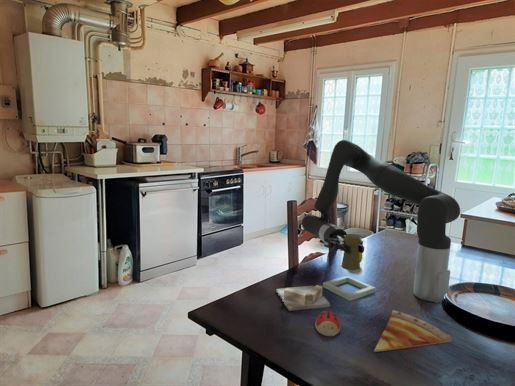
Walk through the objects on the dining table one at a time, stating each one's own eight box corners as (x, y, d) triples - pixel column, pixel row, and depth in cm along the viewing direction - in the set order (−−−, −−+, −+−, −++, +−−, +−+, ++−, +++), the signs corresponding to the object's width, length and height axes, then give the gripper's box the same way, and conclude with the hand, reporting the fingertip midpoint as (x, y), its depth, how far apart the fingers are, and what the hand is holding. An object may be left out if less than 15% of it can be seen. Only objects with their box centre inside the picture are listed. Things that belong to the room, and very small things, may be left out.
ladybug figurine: (315, 337, 93) (316, 324, 92) (314, 317, 103) (315, 306, 102) (342, 339, 92) (342, 326, 92) (338, 319, 102) (339, 308, 101)
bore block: (374, 292, 119) (375, 287, 119) (350, 300, 113) (350, 296, 113) (347, 279, 129) (347, 275, 129) (322, 286, 123) (323, 282, 122)
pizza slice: (343, 320, 102) (344, 314, 101) (412, 313, 107) (413, 306, 107) (373, 353, 87) (374, 346, 86) (451, 343, 92) (452, 336, 92)
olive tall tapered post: (362, 270, 116) (364, 237, 115) (343, 270, 116) (345, 237, 115) (357, 263, 122) (359, 232, 121) (339, 263, 122) (341, 232, 121)
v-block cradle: (276, 291, 118) (276, 280, 117) (313, 288, 121) (313, 277, 121) (289, 310, 106) (289, 298, 105) (329, 306, 109) (330, 294, 108)
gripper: (314, 226, 130) (336, 240, 113) (350, 224, 133) (376, 238, 117) (314, 246, 131) (335, 263, 114) (349, 244, 134) (375, 260, 118)
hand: (356, 250), depth 116 cm, fingers closed on olive tall tapered post, 4 cm apart
